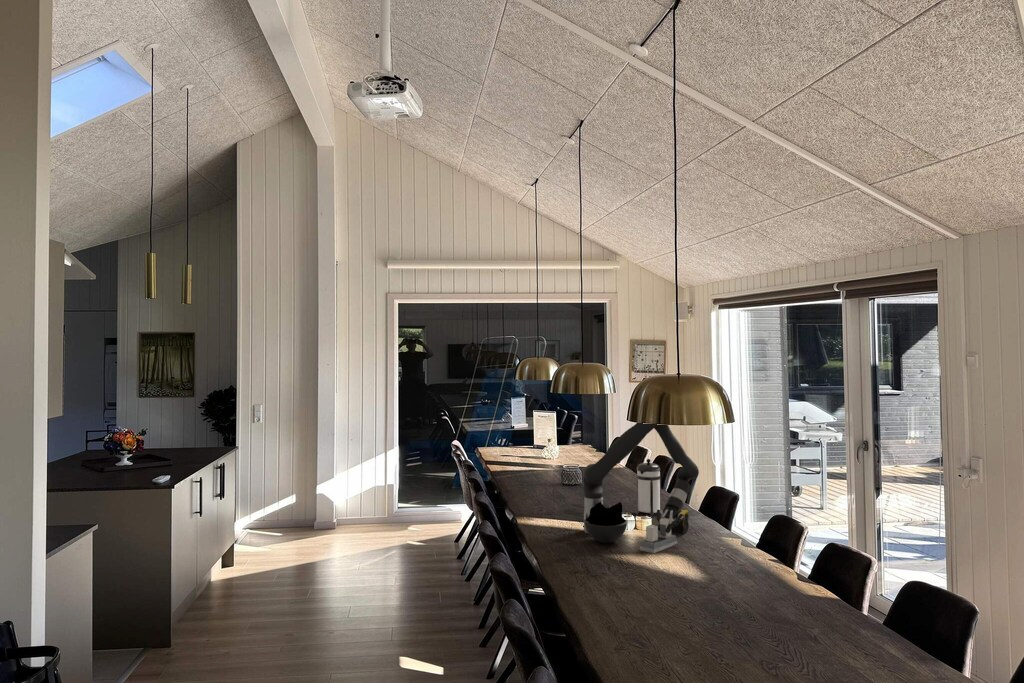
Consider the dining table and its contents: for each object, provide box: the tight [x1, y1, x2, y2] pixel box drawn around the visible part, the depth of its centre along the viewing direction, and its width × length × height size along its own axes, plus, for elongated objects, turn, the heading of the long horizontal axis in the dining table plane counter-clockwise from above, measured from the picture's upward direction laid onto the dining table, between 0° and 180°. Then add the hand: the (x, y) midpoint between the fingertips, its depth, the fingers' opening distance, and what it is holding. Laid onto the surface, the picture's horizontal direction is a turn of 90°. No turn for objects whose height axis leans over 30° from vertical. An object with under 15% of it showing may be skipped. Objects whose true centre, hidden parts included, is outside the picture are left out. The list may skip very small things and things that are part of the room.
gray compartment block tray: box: [639, 524, 678, 554], centre depth 315 cm, size 20×7×10 cm, turn 136°
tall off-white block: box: [659, 518, 672, 538], centre depth 319 cm, size 4×4×9 cm
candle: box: [671, 509, 690, 535], centre depth 343 cm, size 10×10×10 cm
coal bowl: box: [583, 501, 628, 544], centre depth 324 cm, size 20×20×19 cm
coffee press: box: [634, 458, 662, 517], centre depth 381 cm, size 17×16×30 cm
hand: (663, 531), depth 318 cm, fingers closed on tall off-white block, 3 cm apart
